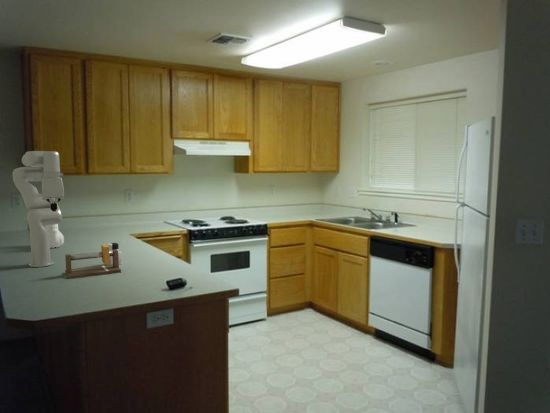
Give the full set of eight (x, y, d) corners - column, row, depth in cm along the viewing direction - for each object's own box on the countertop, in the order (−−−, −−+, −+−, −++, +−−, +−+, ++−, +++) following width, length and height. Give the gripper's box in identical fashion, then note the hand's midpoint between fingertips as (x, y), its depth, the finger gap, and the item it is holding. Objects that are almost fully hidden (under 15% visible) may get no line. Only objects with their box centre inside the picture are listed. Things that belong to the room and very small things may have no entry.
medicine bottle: (116, 262, 263) (115, 241, 262) (122, 264, 258) (121, 243, 257) (104, 264, 258) (103, 243, 257) (110, 266, 253) (109, 244, 252)
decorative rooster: (40, 245, 317) (38, 210, 315) (65, 244, 323) (63, 209, 321) (35, 252, 294) (33, 213, 292) (62, 250, 300) (60, 212, 297)
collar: (101, 261, 245) (101, 244, 244) (106, 260, 246) (105, 244, 245) (105, 264, 237) (104, 247, 236) (109, 263, 238) (109, 246, 238)
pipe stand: (65, 272, 239) (64, 252, 238) (115, 266, 252) (114, 247, 251) (68, 278, 226) (67, 257, 225) (120, 272, 239) (120, 252, 238)
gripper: (67, 175, 242) (69, 209, 244) (35, 175, 235) (37, 211, 236) (68, 175, 236) (70, 211, 237) (36, 176, 228) (38, 212, 230)
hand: (54, 211), depth 237 cm, fingers closed
